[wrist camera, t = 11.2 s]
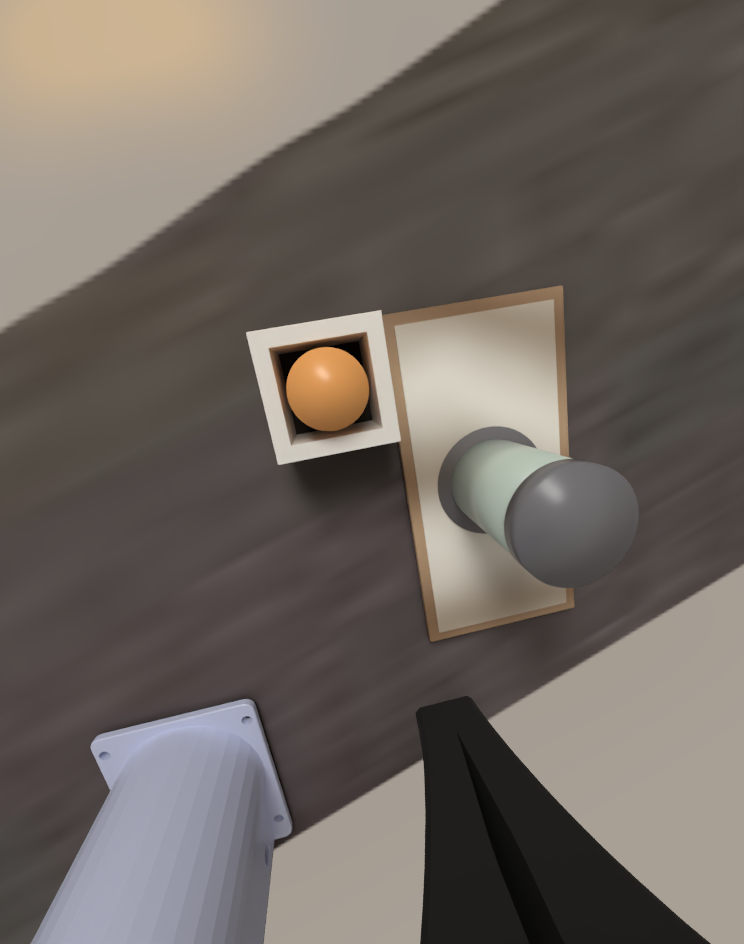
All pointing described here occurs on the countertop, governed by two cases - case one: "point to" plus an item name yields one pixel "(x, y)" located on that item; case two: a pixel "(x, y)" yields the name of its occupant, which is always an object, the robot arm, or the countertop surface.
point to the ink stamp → (548, 509)
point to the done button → (327, 389)
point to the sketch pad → (475, 442)
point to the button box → (318, 335)
